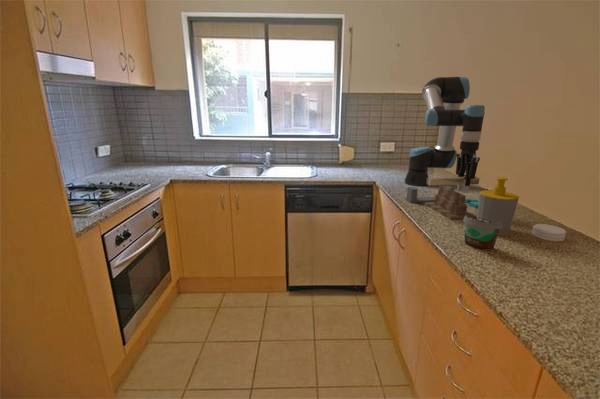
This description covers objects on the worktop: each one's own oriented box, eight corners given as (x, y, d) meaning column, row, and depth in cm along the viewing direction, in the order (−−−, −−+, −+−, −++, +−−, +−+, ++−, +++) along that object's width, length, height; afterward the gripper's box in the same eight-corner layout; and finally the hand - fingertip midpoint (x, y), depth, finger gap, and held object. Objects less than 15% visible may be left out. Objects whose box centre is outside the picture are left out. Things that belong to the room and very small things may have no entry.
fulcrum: (425, 204, 157) (427, 185, 154) (447, 203, 158) (450, 184, 156) (450, 219, 136) (453, 197, 133) (475, 218, 137) (479, 196, 135)
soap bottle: (510, 227, 127) (521, 176, 121) (512, 238, 116) (524, 183, 110) (474, 221, 133) (482, 173, 127) (473, 231, 123) (482, 179, 117)
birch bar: (426, 184, 144) (427, 177, 143) (474, 182, 146) (475, 176, 145) (429, 185, 141) (430, 179, 140) (478, 184, 143) (479, 177, 143)
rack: (405, 199, 166) (406, 186, 164) (447, 198, 169) (448, 185, 167) (410, 202, 160) (411, 189, 158) (453, 201, 163) (455, 188, 161)
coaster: (532, 229, 125) (534, 221, 124) (564, 236, 119) (566, 227, 118) (530, 237, 117) (532, 229, 116) (564, 244, 111) (566, 235, 110)
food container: (454, 243, 112) (458, 217, 109) (460, 238, 116) (464, 213, 113) (493, 254, 103) (498, 226, 100) (498, 248, 107) (503, 221, 105)
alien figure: (455, 201, 164) (487, 213, 145) (456, 197, 163) (487, 209, 144) (486, 198, 169) (520, 210, 150) (487, 195, 168) (521, 205, 150)
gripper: (451, 139, 146) (445, 187, 152) (474, 142, 131) (465, 196, 137) (466, 139, 147) (459, 187, 153) (490, 142, 131) (481, 195, 138)
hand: (462, 191), depth 145 cm, fingers closed on birch bar, 3 cm apart
